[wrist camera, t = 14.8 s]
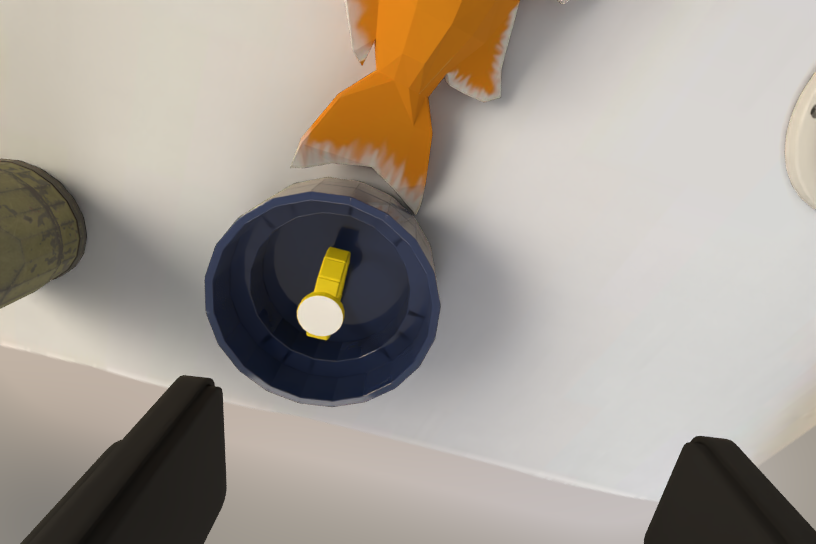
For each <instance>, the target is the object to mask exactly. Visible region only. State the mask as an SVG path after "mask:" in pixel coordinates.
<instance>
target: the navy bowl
mask: <svg viewBox="0 0 816 544" xmlns="http://www.w3.org/2000/svg"><path fill="white" fill-rule="evenodd" d="M330 247H334V248H338V249H342V250H346V251H350V253H351V256H350V263H349V266H348V271H347V275H346V279H345V284H344V288H343V292H342V297H341V303H342V304H343V307H344V311H345V314H344V320H343V323H342V325H341V327H340V328H339V329H338V330H337V331H336V332H335V333H333V334H331V335H330V338H329V339H328V340H323V339H318V338H314V337H310V336H307V334H306V331H305V330H304V329H303V328H302V327H301V325H300V324H299V322H298V319H297V309H298V306H299V304H300V302H301V300H302V299H303V298H304V297H305V296H306V295H308V294H310V293H312V292H314V289H315V285H316V282H317V278H318V274H319V271H320V268H321V265H322V262H323V259H324V257H325V254H326V252H327V250H328V248H330ZM205 306H206V314H207V317H208V319H209V322H210V325H211V327H212V330H213V332H214V335H215V338H216V340H217V343H218V345H219V346H220V347H221V348H222V350H223V351H224V352H225V354H226V355H227V356H228V357H229V359H230V360H231V361H232V362H233V364H234V365H235V366H236V368H237V369H238V370H240V372H241V373H243V374H244V375H246V376H247V377H248V378H250V379H251V380H252V381H254V382H255V383H257V384H258V385H259V386H261V387H262V388H264V389H265V390H266V391H268V392H271V393H274V394H276V395H279V396H281V397H284V398H287V399H289V400H292V401H294V402H297V403H301V404H310V405H319V406H328V407H336V406H343V405H349V404H356V403H362V402H367V401H369V400H371V399H373V398H375V397H378V396H380V395H382V394H384V393H386V392H388V391H391V390H393V389H395V388H396V387H397V386H399V385H400V384H401V383H402V382H403V381H404V380H405V379H406V378H407V377H409V376H410V375H411V374H412V373H413V372H414V371H415V370H416V369H417V368H419V366H420V365H421V363H422V361H423V359H424V358H425V356H426V354H427V352H428V351H429V349H430V347H431V345H432V344H433V342H434V340H435V337H436V331H437V325H438V320H439V314H440V308H441V305H440V298H439V292H438V286H437V280H436V273H435V268H434V262H433V256H432V250H431V246H430V244H429V242H428V240H427V238H426V236H425V234H424V233H423V231H422V229H421V227H420V225H419V224H418V222H417V220H416V219H415V217H414V216H413V215H412V214H411V213H410V212H408V211H407V210H406V209H405V208H404V207H403V206H402V205H401V204H400V203H399V202H398V201H397V200H396V199H395V198H393V197H392V196H391V195H389V194H387V193H385V192H382V191H380V190H378V189H376V188H374V187H372V186H370V185H368V184H366V183H363V182H361V181H355V180H347V179H340V178H332V177H324V178H319V179H314V180H308V181H303V182H298V183H295V184H292V185H291V186H289V187H287V188H285V189H284V190H282V191H280V192H278V193H277V194H275V195H273V196H272V197H270V198H268V199H266V200H265V201H263V202H262V203H260V204H259V205H257V206H256V207H254V208H252V209H251V210H249V211H248V212H246V213H245V214H243V215H242V216H240V217H239V218H238V219H237V220H236V221H235V222H234V224H233V225H232V226H231V227H230V228H229V230H228V231H227V232H226V233H225V234H224V236H223V237H222V238H221V239H220V240H219V242H218V243H217V244H216V246H215V248H214V251H213V254H212V257H211V260H210V263H209V266H208V269H207V272H206V275H205Z"/></svg>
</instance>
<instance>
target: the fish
mask: <svg viewBox="0 0 816 544" xmlns="http://www.w3.org/2000/svg"><path fill="white" fill-rule="evenodd" d="M344 1H345V7H346V13H347V19H348V25H349V31H350V37H351V45H352V50H353V52H354V54H355V55H356V57H357V58H358V60H359V61H360V63H361V65H363V63H364V61H365V59H366V57H367V55H368V53H369V51H370V49H371V47H372V45H373V43H374V41H375V58H376V70H375V71H374V72H372V73H371V74H369V75H367V76H366V77H364V78H363V79H361V80H359V81H358V82H356V83H355V84H353V85H352V86H350V87H348V88H347V89H345V90H344V91H342V92H340V93H339V94H338V95H337V96H336V97H335V98H334V99H333V101H332V102H331V103H330V104H329V105H328V107H327V108H326V109H325V110H324V111H323V113H322V114H321V115H320V116H319V117H318V119H317V120H316V121H315V122H314V123H313V125H312V126H311V127H310V128H309V129H308V131H307V132H306V133H305V134H304V135H303V137H302V138H301V140H300V143H299V145H298V148H297V151H296V153H295V156H294V159H293V161H292V164H291V167H290V168H308V167H313V166H319V165H324V164H330V163H336V164H347V165H357V166H368V167H372V168H373V169H374V170H375V171H376V172H377V173H378V174H379V175H380V176H381V177H382V178H383V179H384V180H385V181H386V182H387V183H388V184H389V185H390V186H391V187H392V188H393V189H394V190H395V191H396V193H397V194H398V195H399V196H400V197H401V198H402V199H403V201H404V202H405V203H406V204H407V205H408V206H409V207H410V209H411V210H412V211H413V212H414V213H415V214H417V212H418V210H419V208H420V207H421V202H422V198H423V193H424V189H425V184H426V177H427V170H428V163H429V155H430V148H431V141H432V125H431V116H430V108H429V99H428V97H429V96H430V94H431V93H432V92H433V90H434V89H435V88H436V87H437V85H438V84H439V83H440V82H441V80H442V79H443V78H444V77H445V79H446V82H447V84H449V85H450V86H452V87H453V88H455V89H457V90H458V91H460V92H462V93H464V94H466V95H468V96H471V97H473V98H475V99H478V100H480V101H482V102H487V101H491V100H494V99H497V98H501V68H502V64H503V61H504V57H505V53H506V50H507V46H508V42H509V39H510V35H511V32H512V28H513V24H514V21H515V17H516V13H517V10H518V6H519V2H520V0H344ZM557 1H559V2H560V3H561V4H565V3H566V2H568V1H570V0H557Z"/></svg>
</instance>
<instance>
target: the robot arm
mask: <svg viewBox="0 0 816 544" xmlns="http://www.w3.org/2000/svg"><path fill="white" fill-rule="evenodd" d="M785 160H786V169H787V172H788V175H789V178H790V181H791V184H792V186H793V187H794V189H795V190H796V192H797V193H798V195H799V196H800V198H801V199H802V200H803V201H805V202H806V203H807V204H808V205H809V206H810V207H811V208H813V209H815V210H816V72H815V73H814V74H813V76H812V78H811V79H810V81H809V82H808V84H807V85H806V87H805V88H804V90H803V91H802V93H801V95H800V97H799V99H798V101H797V104H796V106H795V108H794V110H793V112H792V115H791V119H790V122H789V126H788V129H787V133H786V143H785ZM225 496H226V463H225V439H224V415H223V393H222V389H221V388H220V387H215V384H214V381H213V379H211V378H203V377H195V376H186V375H183V376H180V377H179V378H178V379H176V381H175V382H174V383H173V384H172V385H171V386H170V387H169V388H168V389H167V391H166V392H165V393H164V394H163V395H162V396H161V397H160V398H159V399H158V401H157V402H156V403H155V404H154V405H153V406H152V407H151V408H150V409H149V411H148V412H147V413H146V414H145V415H144V416H143V417H142V418H141V419H140V421H139V422H138V423H137V424H136V425H135V426H134V427H133V428H132V430H131V431H130V432H129V433H128V434H127V435H126V436H125V437H124V438H123V440H120V441H118V442H116V443H114V444H113V445H111V446H110V447H109V448H108V449H107V450H106V451H105V452H104V453H103V454H102V455H101V456H100V458H99V459H98V460H97V461H96V462H95V463H94V464H93V465H92V466H91V467H90V469H89V470H88V471H87V472H86V473H85V474H84V475H83V476H82V477H81V478H80V479H79V480H78V481H77V483H76V484H75V485H74V486H73V487H72V488H71V489H70V490H69V491H68V492H67V493H66V495H65V496H64V497H63V498H62V499H61V500H60V501H59V502H58V503H57V504H56V505H55V507H54V508H53V509H52V510H51V511H50V512H49V513H48V514H47V515H46V517H44V518H43V520H42V521H41V522H40V523H39V524H38V525H37V526H36V527H35V528H34V529H33V531H32V532H31V533H30V534H29V535H28V536H27V537H26V538H25V539H24V540H23V541H22V543H21V544H204V542H205V540H206V538H207V536H208V534H209V532H210V530H211V528H212V526H213V524H214V522H215V520H216V518H217V516H218V514H219V512H220V510H221V508H222V506H223V503H224V500H225ZM644 544H816V531H815V530H814V529H813V528H812V527H811V526H810V524H809V523H808V522H807V521H806V520H805V519H804V518H803V517H802V516H801V515H800V514H799V512H798V511H797V510H796V509H795V508H794V507H793V506H792V505H791V504H790V503H789V502H788V501H787V500H786V498H785V497H784V496H783V495H782V494H781V493H780V492H779V491H778V490H777V489H776V488H775V486H774V485H773V484H772V483H771V482H770V481H769V480H768V479H767V478H766V477H765V476H764V474H762V472H761V471H760V470H759V469H758V468H757V467H756V466H755V465H754V463H753V462H752V461H751V460H750V459H749V458H748V457H747V456H746V455H745V454H744V453H743V452H742V450H741V449H740V448H739V447H738V446H737V445H736V444H735V443H734V442H732V441H731V440H728V439H722V438H713V437H705V436H696V437H695V438H693V439H692V441H691V442H689V443H686V444H685V445H684V446H683V448H682V451H681V453H680V455H679V458H678V460H677V462H676V465H675V467H674V469H673V471H672V474H671V476H670V478H669V481H668V483H667V485H666V488H665V490H664V492H663V495H662V497H661V499H660V502H659V504H658V507H657V509H656V511H655V513H654V516H653V518H652V520H651V523H650V525H649V527H648V530H647V532H646V534H645V538H644Z"/></svg>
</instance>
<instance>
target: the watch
mask: <svg viewBox="0 0 816 544" xmlns="http://www.w3.org/2000/svg"><path fill="white" fill-rule="evenodd" d="M350 256H351V253H350V251H346V250H342V249H338V248H334V247H330V248H328V250H327V252H326V254H325V257H324V259H323V262H322V265H321V268H320V271H319V274H318V278H317V282H316V285H315V289H314V292H312V293H310V294H308V295H306V296H305V297H304V298H303V299H302V300H301V302H300V304H299V306H298V309H297V319H298V322H299V324H300V325H301V327H302V328H303V329H304V330H305V331H306V334H307V336H310V337H314V338H318V339H323V340H328V339H329V338H330V335H331V334H333V333H335V332H336V331H337V330H338V329H339V328H340V327H341V325H342V323H343V320H344V314H345V311H344V307H343V304H342V303H341V297H342V292H343V288H344V284H345V279H346V275H347V271H348V266H349V263H350Z"/></svg>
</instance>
